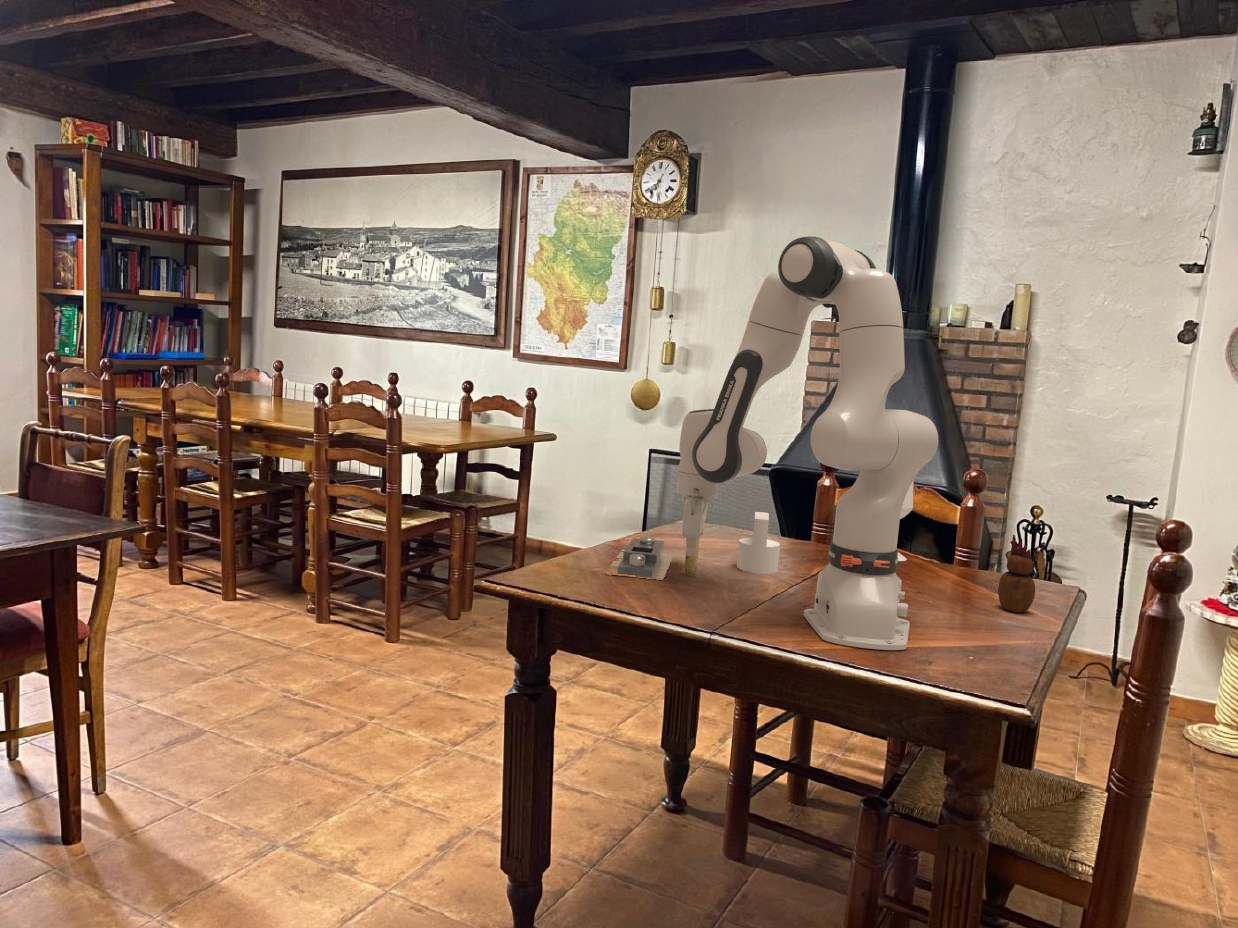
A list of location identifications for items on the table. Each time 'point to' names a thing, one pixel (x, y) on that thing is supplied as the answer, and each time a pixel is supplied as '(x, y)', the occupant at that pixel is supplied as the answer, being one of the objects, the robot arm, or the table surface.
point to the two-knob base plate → (644, 559)
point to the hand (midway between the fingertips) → (692, 550)
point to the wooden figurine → (1017, 580)
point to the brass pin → (692, 561)
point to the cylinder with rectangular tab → (758, 549)
